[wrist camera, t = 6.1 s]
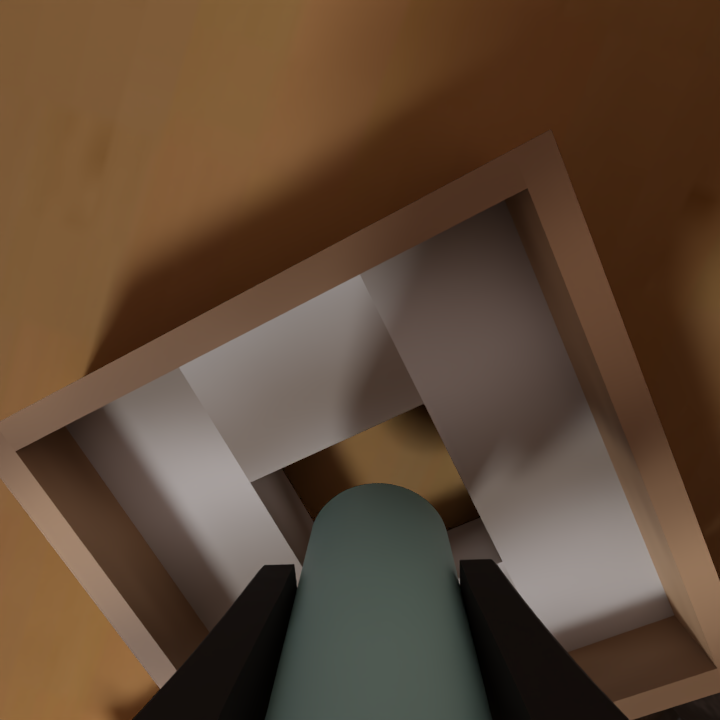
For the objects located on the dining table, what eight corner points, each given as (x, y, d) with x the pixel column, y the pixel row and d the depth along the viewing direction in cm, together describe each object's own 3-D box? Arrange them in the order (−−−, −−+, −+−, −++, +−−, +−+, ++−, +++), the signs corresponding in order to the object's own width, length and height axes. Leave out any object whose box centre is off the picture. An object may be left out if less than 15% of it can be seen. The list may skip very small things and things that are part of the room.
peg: (311, 478, 10) (209, 809, 4) (455, 487, 10) (568, 841, 4) (309, 599, 11) (221, 1025, 5) (442, 608, 10) (521, 1057, 5)
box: (78, 387, 13) (-31, 437, 9) (497, 166, 11) (551, 129, 7) (293, 704, 15) (269, 833, 12) (661, 571, 13) (757, 680, 10)
